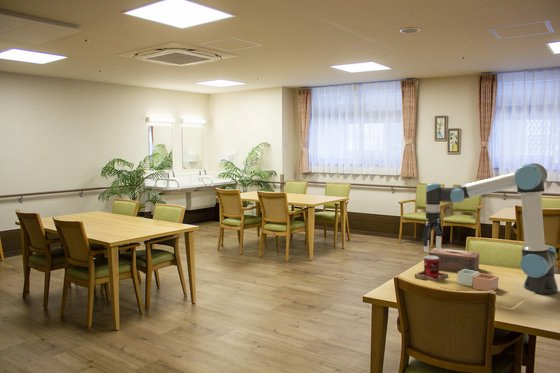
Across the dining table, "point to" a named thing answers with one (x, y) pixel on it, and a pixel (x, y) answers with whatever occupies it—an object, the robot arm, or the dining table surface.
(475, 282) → the pot
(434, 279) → the tray
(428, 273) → the canned food
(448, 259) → the tissue box cover
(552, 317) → the dining table surface
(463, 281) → the mint green open box
